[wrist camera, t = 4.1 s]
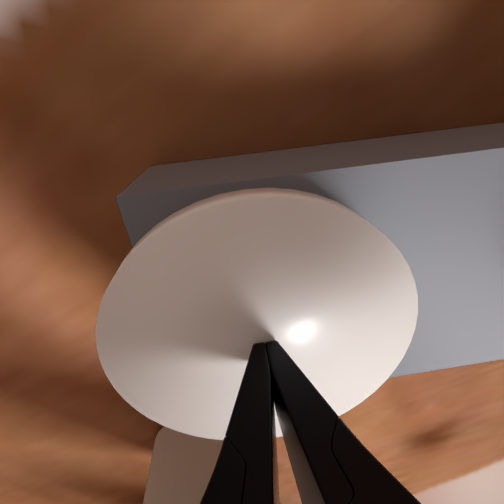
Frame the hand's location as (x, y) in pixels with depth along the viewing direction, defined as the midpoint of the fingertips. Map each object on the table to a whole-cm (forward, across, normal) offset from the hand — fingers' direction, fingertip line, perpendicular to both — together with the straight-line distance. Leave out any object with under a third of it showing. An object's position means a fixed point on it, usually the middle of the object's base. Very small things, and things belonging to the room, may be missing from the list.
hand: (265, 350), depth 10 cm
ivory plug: (+6, 0, 0) cm, 6 cm away
